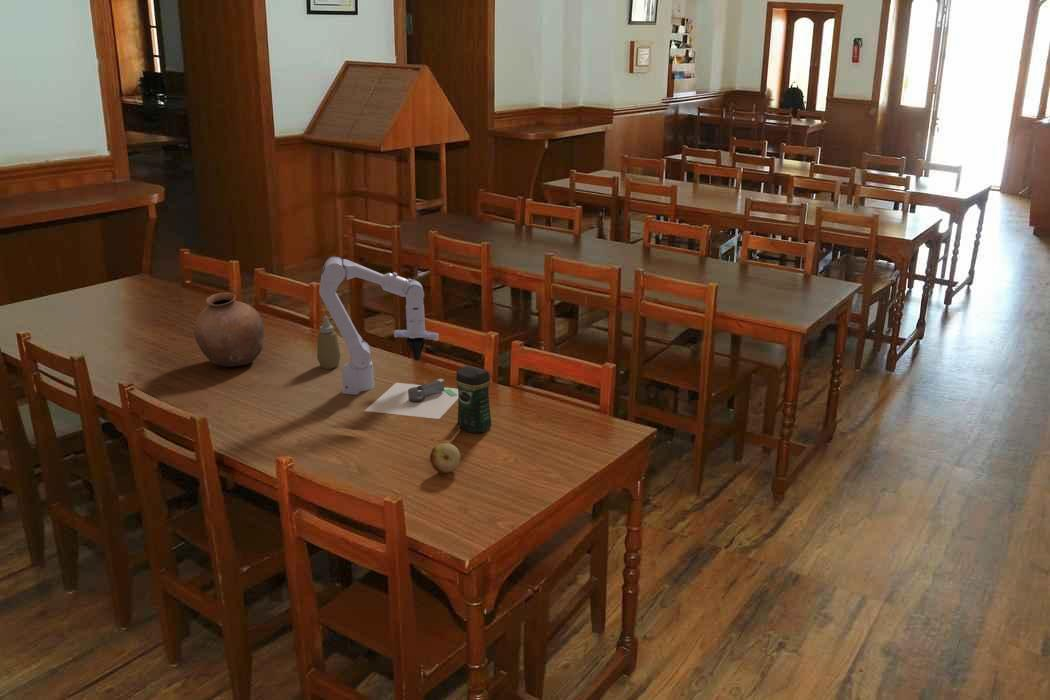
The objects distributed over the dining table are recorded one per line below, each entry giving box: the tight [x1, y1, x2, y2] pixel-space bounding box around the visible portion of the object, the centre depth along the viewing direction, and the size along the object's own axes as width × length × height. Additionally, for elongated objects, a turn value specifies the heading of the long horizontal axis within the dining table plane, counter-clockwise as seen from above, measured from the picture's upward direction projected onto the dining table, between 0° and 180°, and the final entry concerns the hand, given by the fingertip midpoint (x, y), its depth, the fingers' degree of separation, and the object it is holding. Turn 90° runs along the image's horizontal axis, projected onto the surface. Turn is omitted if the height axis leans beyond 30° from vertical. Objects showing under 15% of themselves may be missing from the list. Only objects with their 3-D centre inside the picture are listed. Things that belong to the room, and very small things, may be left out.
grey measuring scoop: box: [408, 378, 445, 402], centre depth 296 cm, size 12×5×4 cm, turn 130°
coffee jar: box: [455, 364, 492, 434], centre depth 275 cm, size 10×8×19 cm
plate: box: [364, 382, 458, 420], centre depth 294 cm, size 24×24×2 cm
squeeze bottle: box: [316, 315, 342, 370], centre depth 324 cm, size 8×8×18 cm
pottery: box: [193, 292, 265, 368], centre depth 327 cm, size 23×23×25 cm
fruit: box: [429, 442, 461, 474], centre depth 250 cm, size 8×8×8 cm
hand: (417, 359), depth 305 cm, fingers closed
